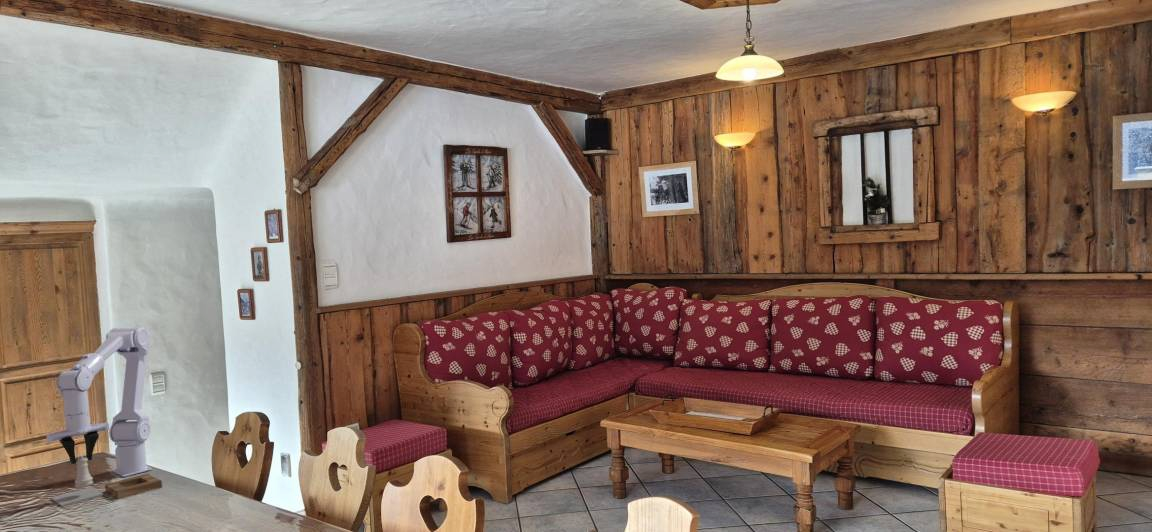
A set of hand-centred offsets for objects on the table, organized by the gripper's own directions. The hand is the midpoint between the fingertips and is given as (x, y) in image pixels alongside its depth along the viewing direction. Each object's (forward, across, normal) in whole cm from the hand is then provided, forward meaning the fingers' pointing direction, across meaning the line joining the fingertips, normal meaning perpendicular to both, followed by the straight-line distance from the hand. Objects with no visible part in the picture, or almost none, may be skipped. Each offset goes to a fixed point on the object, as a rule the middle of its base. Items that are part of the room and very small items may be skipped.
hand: (81, 461), depth 210 cm
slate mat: (+10, -1, +1) cm, 10 cm away
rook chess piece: (+7, 0, -1) cm, 7 cm away
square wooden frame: (+10, +10, -6) cm, 16 cm away
